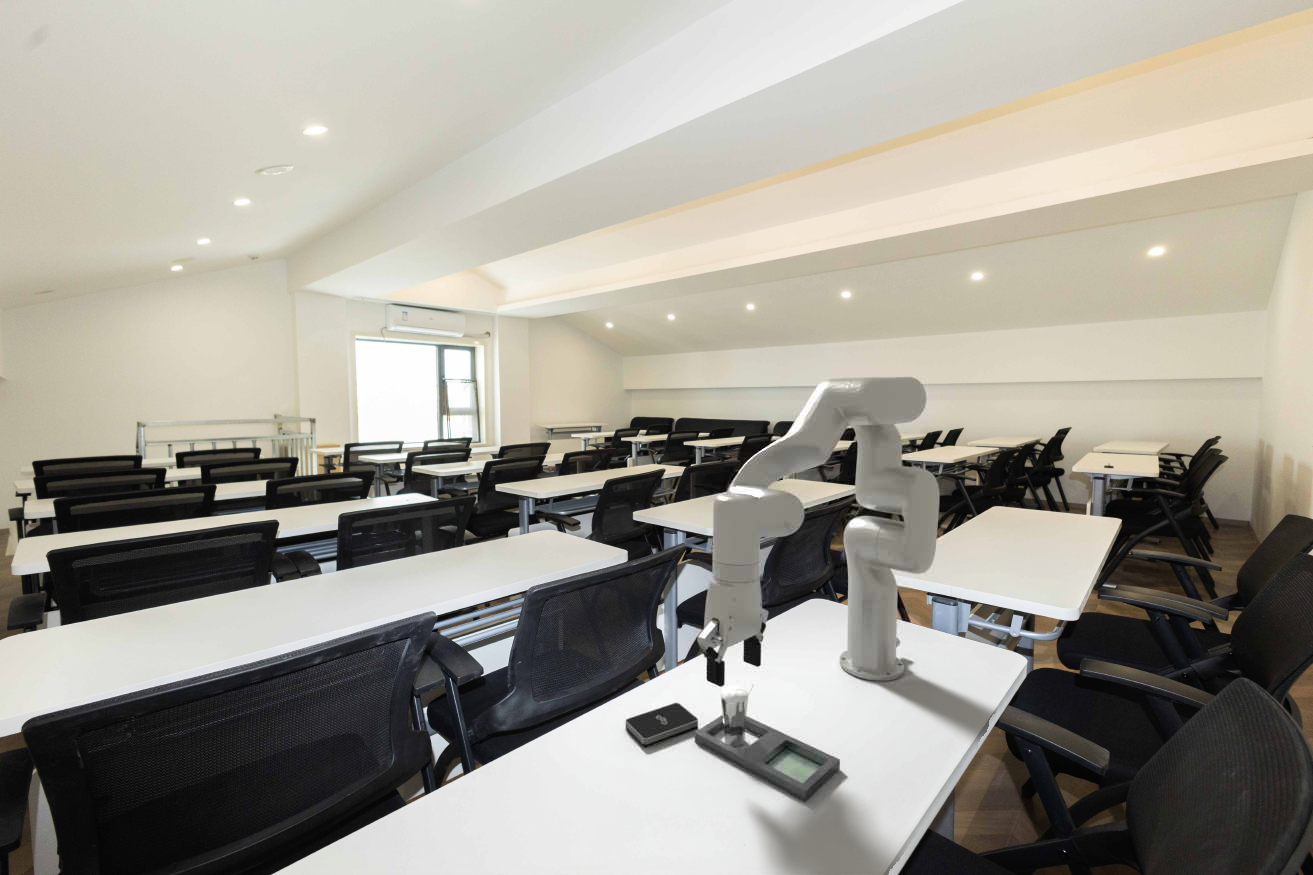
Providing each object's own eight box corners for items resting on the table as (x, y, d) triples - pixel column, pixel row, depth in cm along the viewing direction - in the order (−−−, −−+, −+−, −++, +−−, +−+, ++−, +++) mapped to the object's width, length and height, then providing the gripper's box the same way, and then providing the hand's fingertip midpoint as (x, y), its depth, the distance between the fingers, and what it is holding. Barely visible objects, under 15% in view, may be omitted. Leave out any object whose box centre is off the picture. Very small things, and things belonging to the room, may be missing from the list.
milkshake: (752, 751, 95) (752, 691, 94) (719, 747, 96) (719, 688, 95) (753, 734, 99) (753, 677, 99) (722, 731, 101) (721, 675, 100)
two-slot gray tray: (731, 717, 105) (731, 708, 105) (839, 769, 90) (839, 759, 90) (694, 741, 98) (694, 732, 98) (805, 801, 83) (805, 791, 83)
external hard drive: (699, 730, 102) (699, 719, 101) (643, 751, 96) (643, 739, 96) (677, 712, 108) (677, 701, 107) (623, 730, 102) (623, 719, 102)
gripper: (748, 555, 104) (747, 650, 105) (682, 576, 92) (681, 683, 93) (785, 564, 99) (783, 663, 100) (720, 587, 87) (718, 700, 88)
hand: (734, 673), depth 96 cm, fingers open, 9 cm apart
